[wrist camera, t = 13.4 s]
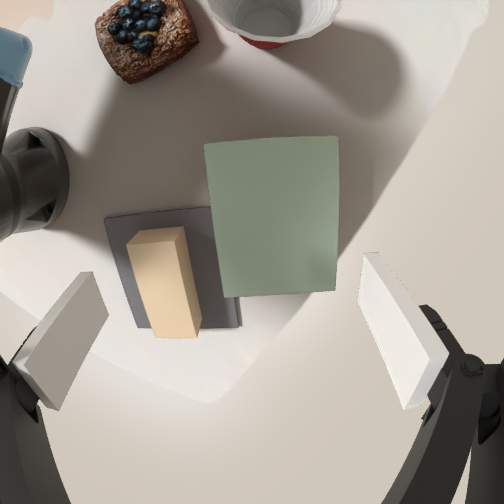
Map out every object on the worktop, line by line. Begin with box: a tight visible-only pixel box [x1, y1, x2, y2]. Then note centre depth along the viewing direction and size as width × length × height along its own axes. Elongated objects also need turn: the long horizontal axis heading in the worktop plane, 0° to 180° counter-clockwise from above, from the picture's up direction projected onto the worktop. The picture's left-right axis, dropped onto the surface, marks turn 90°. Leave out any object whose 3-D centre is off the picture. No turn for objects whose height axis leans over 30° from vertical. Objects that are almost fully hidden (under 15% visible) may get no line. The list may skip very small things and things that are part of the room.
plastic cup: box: [202, 0, 341, 49], centre depth 19 cm, size 11×11×12 cm
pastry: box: [95, 0, 199, 84], centre depth 23 cm, size 11×12×6 cm
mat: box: [104, 206, 238, 338], centre depth 36 cm, size 16×18×5 cm
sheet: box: [203, 136, 339, 298], centre depth 28 cm, size 12×16×1 cm
